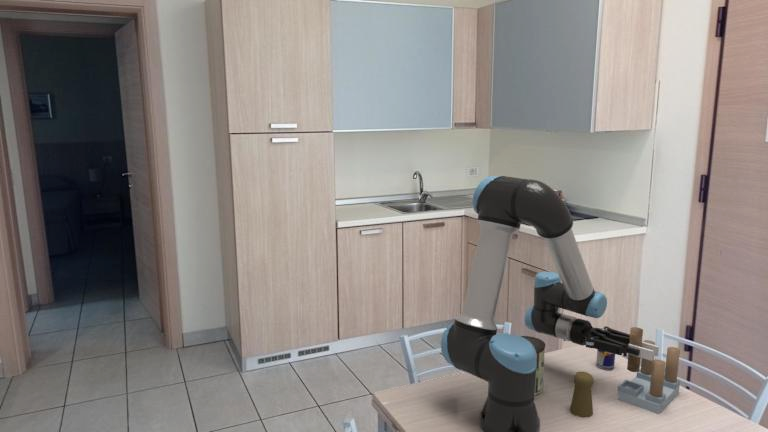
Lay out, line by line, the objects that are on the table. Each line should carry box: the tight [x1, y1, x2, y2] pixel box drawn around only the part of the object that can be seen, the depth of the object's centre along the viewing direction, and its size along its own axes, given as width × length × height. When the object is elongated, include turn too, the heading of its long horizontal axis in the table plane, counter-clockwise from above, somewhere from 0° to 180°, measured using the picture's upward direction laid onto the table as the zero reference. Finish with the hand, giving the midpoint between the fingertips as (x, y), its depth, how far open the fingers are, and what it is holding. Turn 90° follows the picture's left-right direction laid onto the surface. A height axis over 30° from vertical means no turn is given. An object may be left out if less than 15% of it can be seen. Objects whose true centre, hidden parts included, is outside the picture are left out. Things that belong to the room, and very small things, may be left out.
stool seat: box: [617, 339, 681, 415], centre depth 161 cm, size 11×16×14 cm
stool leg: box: [626, 326, 644, 373], centre depth 158 cm, size 3×3×12 cm
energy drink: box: [595, 327, 616, 371], centre depth 179 cm, size 5×5×12 cm
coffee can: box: [520, 335, 546, 396], centre depth 166 cm, size 10×10×14 cm
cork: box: [569, 371, 595, 418], centre depth 153 cm, size 6×6×11 cm
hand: (655, 353), depth 154 cm, fingers closed on stool leg, 3 cm apart
